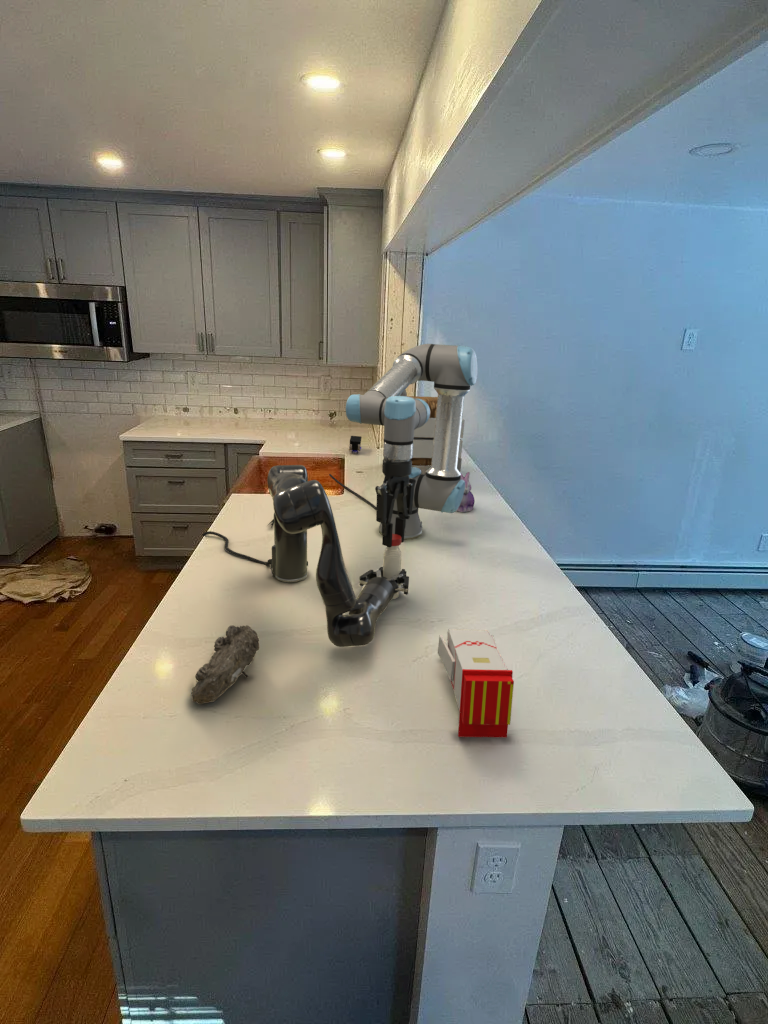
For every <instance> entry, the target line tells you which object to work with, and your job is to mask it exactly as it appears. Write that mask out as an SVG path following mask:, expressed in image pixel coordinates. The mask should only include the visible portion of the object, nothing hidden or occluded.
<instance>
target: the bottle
mask: <svg viewBox="0 0 768 1024" xmlns="http://www.w3.org/2000/svg"><path fill="white" fill-rule="evenodd" d="M382 555H383V557H382V567H383V575H382V577H386V578H391V577H392V576H394V575H396V576H397V575H399V573H400V572H401V570H402V556H403V555H402V551H401V549H400V545H399V546H392V547H390V548H389V547H387V546H385V549H384V551H383V554H382ZM399 586H401V585H399ZM399 597H400V591H398V592H397V593H395V594H394V596H393V598H392V599H391V600H395V599H397V598H399Z"/></svg>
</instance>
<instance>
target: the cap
mask: <svg viewBox="0 0 768 1024" xmlns="http://www.w3.org/2000/svg"><path fill="white" fill-rule="evenodd" d="M400 545H402V543H401V536H400V535H397V534H392V546H399V547H400Z"/></svg>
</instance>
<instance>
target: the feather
mask: <svg viewBox="0 0 768 1024" xmlns="http://www.w3.org/2000/svg"><path fill="white" fill-rule="evenodd" d="M269 525H270V529H272V528H273V527H274V518H273V519H272V520H271V521H270V522H269V523H267V526H269ZM267 526H266V527H267Z"/></svg>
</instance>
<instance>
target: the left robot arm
mask: <svg viewBox="0 0 768 1024" xmlns="http://www.w3.org/2000/svg"><path fill="white" fill-rule="evenodd" d="M266 481H267V489H268V492H269V494H270V497H271V498H272V504H273V511H274V512H273V519H274V524H273V540H274V543H273V545H272V546H271V558H269V559H267V560H266V561H263V560H261V559H257V558H254V557H253V556H252V557H251V556H250V555H246V554H244V553H240V552H237V551H234V550H232V549H231V548H229V546H228V545H229V538H228V537H226V536H225V535H223V534H222V533H219V532H216V531H211V530H209V531H208V530H207V531H205V532H203V534H202V535H201V536H202V537H205V536H207V535H213V536H216V537H219V538H221V539H222V540H224V541H225V542H224V550H225V551H226V552H227V553H229V554H231V555H233V556H237V557H239V558H243V559H245V560H249V561H251V562H254V563H257V564H261V565H265V566H270V569H271V577H272V578H275V579H276V580H277V581H279V582H282V583H298V582H302V581H303V580H305V579H307V577H308V567H309V560H308V530H309V529H313V528H316V527H318V526H320V529H321V536H322V537H321V538H322V540H321V548H320V553H319V557H318V560H317V565H316V570H315V582H316V586H317V589H318V592H319V595H320V598H321V600H322V602H323V605H324V609H325V616H326V632H327V637H328V639H329V641H330V643H332V645H334V646H335V647H338V648H345V647H347V648H348V647H349V648H350V647H363V646H364V647H365V646H367V645H368V644H370V643H371V642H372V641H373V640H374V639H375V636H376V635H375V633H376V624H377V620H378V619H379V617H380V616H381V614H383V612H384V611H385V610H386V609H387V607H389V604H390V603H391V601H392V600H393V599H392V598H393V596H394V594H395V593H397V592H398V591H399V592H401V593H403V595H405V596H407V595H409V588H410V587H409V585H410V576H408V575H407V574H408V573H407V570H406V568H401V572H400V573H399V575H397V576H396V575H394V576H392V577H391V578H386V577H382V575H383V566H380V567H379V568H378V569H376V570H374V569H369V570H367V571H366V572H364V573H363V574H361V575H360V576H359V578H358V579H359V582H358V583H359V584H358V585H359V587H362V589H361V590H360V591H359V593H358V595H357V597H356V594H355V591H354V588H353V585H352V582H351V580H350V577H349V574H348V571H347V568H346V565H345V560H344V556H343V551H342V545H341V542H340V538H339V537H340V536H339V533H338V529H337V524H336V520H335V517H334V513H333V509H332V506H331V502H330V499H329V497H328V494H327V491H326V490H325V488H324V486H323V485H322V484H321V482H319V481H318V480H317V479H311V480H309V476H308V470H307V468H306V466H305V465H304V464H278V465H273V466H272V467H271V468H270V469H269V471H268V473H267V479H266ZM399 585H400V586H399ZM346 613H348V614H346Z"/></svg>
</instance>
